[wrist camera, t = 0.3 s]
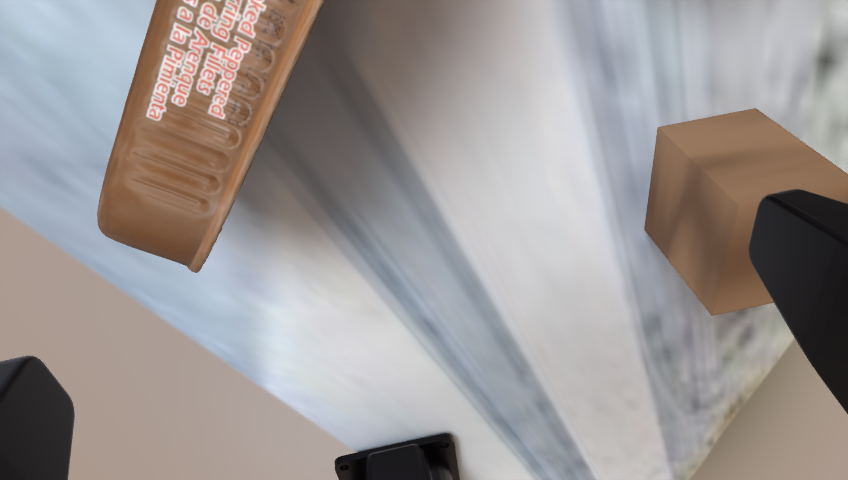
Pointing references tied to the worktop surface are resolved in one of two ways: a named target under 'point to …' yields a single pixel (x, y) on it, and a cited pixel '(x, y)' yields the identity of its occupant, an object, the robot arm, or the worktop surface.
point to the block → (726, 198)
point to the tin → (197, 119)
